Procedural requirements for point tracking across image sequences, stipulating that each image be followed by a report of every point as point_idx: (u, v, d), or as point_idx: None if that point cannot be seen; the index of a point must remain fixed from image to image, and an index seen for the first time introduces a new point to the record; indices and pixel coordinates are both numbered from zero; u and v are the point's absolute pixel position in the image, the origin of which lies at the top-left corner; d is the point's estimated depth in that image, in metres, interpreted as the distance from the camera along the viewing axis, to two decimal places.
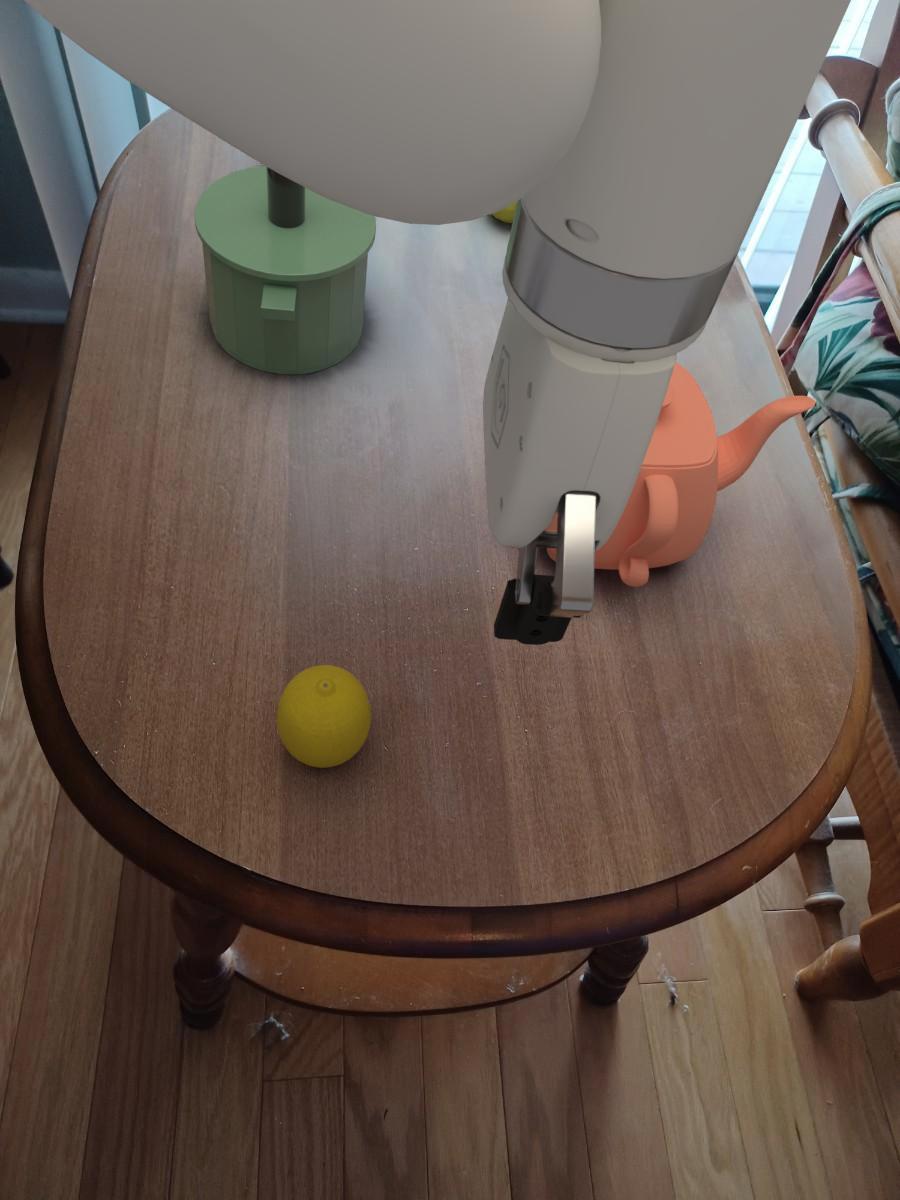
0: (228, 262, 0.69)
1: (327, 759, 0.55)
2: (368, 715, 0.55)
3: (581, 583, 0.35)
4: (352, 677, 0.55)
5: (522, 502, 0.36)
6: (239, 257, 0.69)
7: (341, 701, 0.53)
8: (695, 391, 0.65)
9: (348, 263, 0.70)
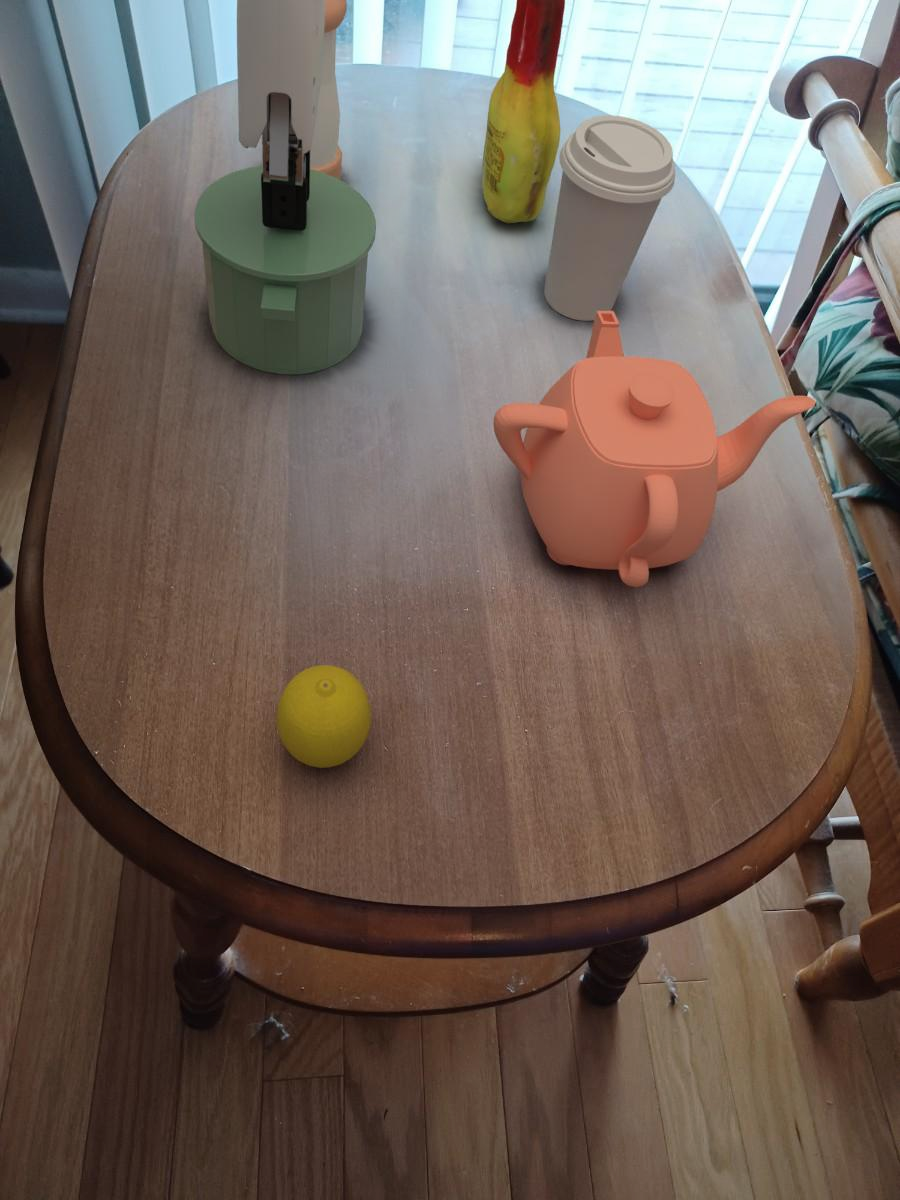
0: (228, 262, 0.69)
1: (327, 759, 0.55)
2: (368, 715, 0.55)
3: (280, 164, 0.62)
4: (352, 677, 0.55)
5: (245, 103, 0.60)
6: (239, 257, 0.69)
7: (341, 701, 0.53)
8: (694, 391, 0.65)
9: (348, 263, 0.70)
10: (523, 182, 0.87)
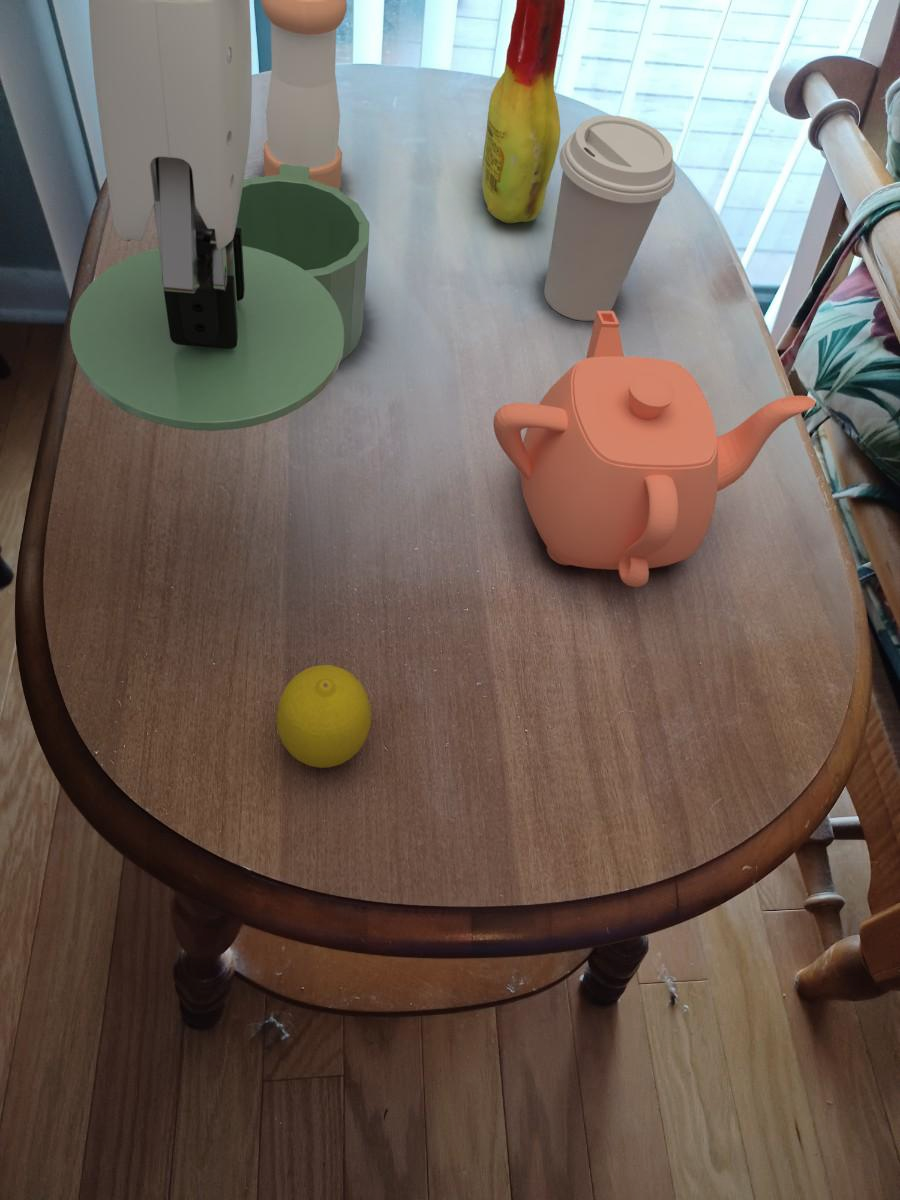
0: (116, 402, 0.45)
1: (327, 759, 0.55)
2: (368, 715, 0.55)
3: (180, 269, 0.38)
4: (352, 677, 0.55)
5: (116, 175, 0.36)
6: (133, 394, 0.45)
7: (341, 701, 0.53)
8: (695, 391, 0.65)
9: (301, 399, 0.47)
10: (523, 182, 0.87)
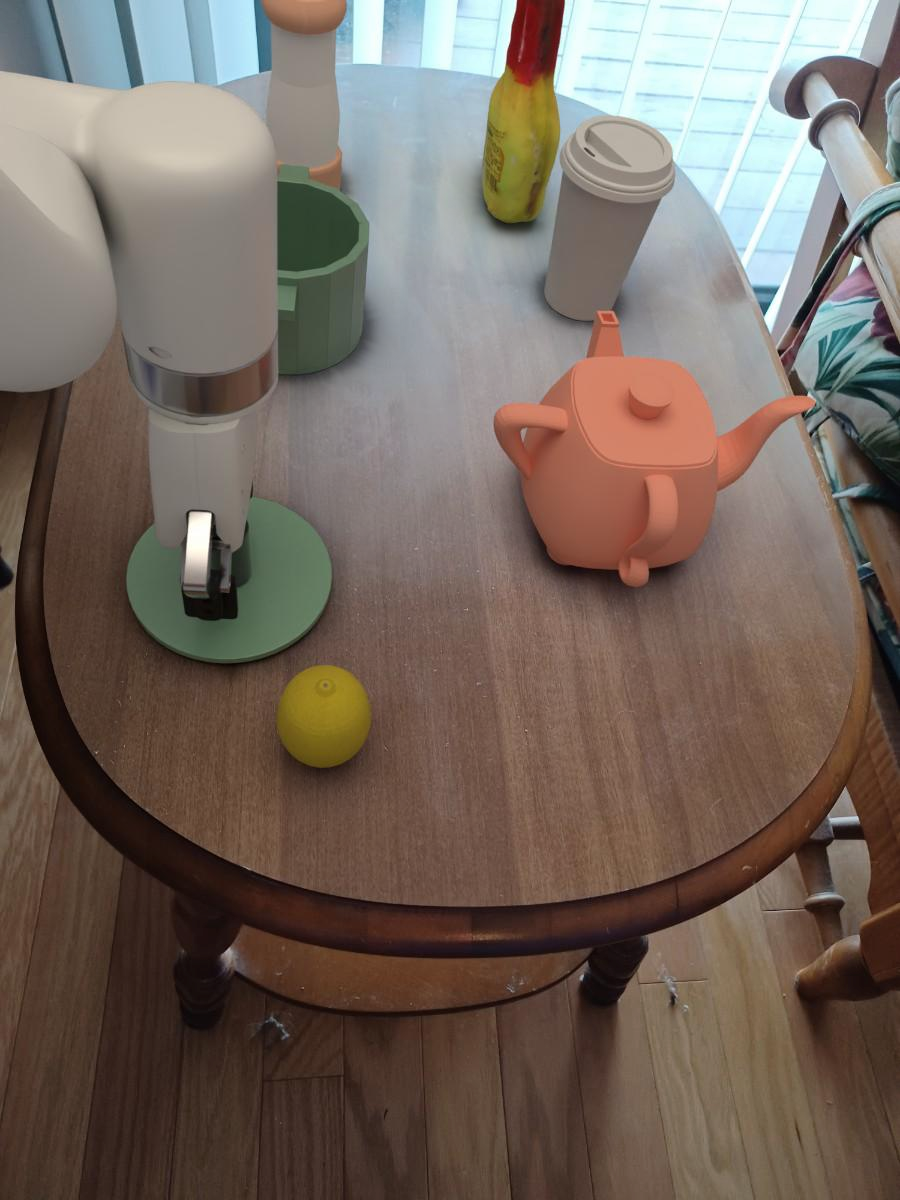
0: (162, 642, 0.61)
1: (327, 759, 0.55)
2: (368, 715, 0.55)
3: (197, 574, 0.51)
4: (352, 677, 0.55)
5: (161, 517, 0.51)
6: (174, 637, 0.61)
7: (341, 701, 0.53)
8: (695, 391, 0.65)
9: (299, 635, 0.62)
10: (523, 182, 0.87)
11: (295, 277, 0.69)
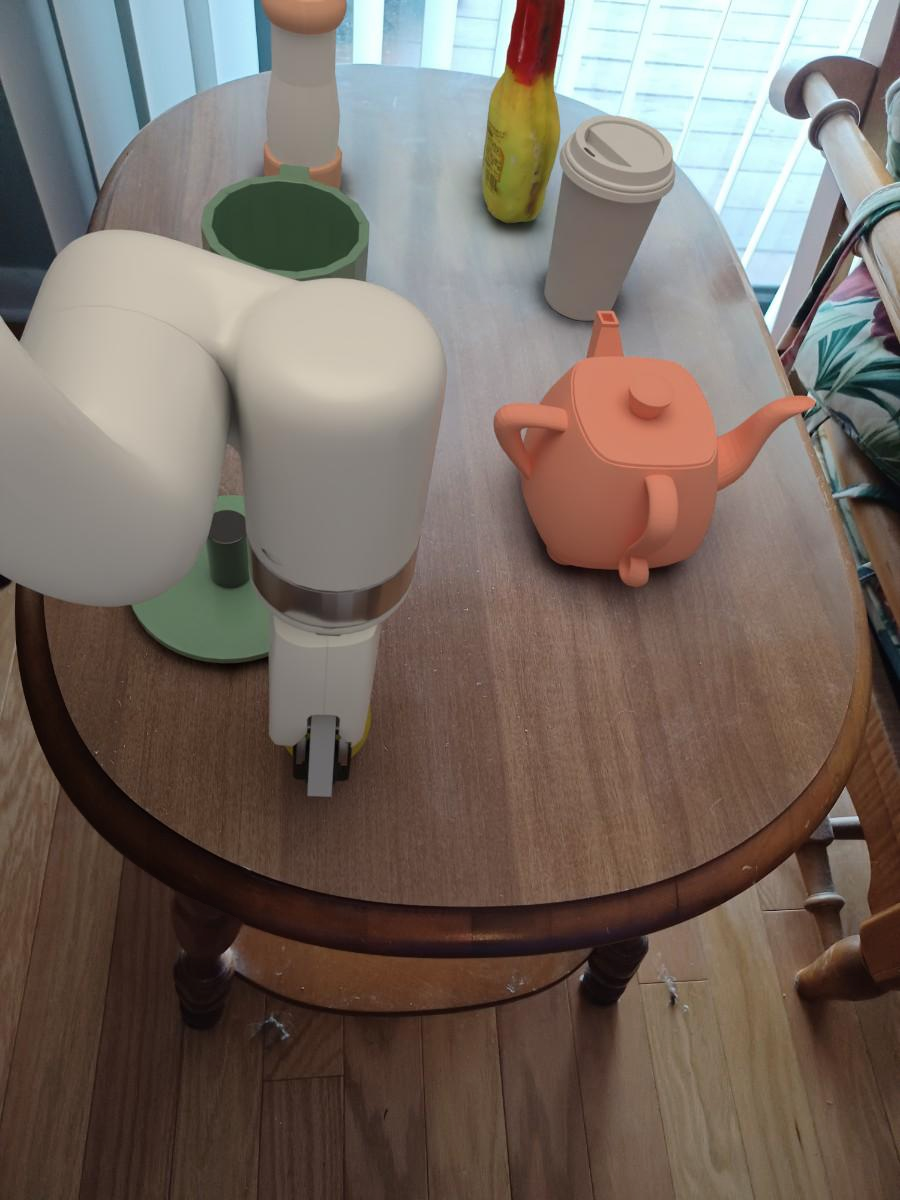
0: (162, 642, 0.61)
1: None
2: (368, 715, 0.55)
3: (322, 783, 0.47)
4: None
5: (279, 721, 0.46)
6: (174, 637, 0.61)
7: None
8: (695, 391, 0.65)
9: None
10: (523, 182, 0.87)
11: (295, 277, 0.69)
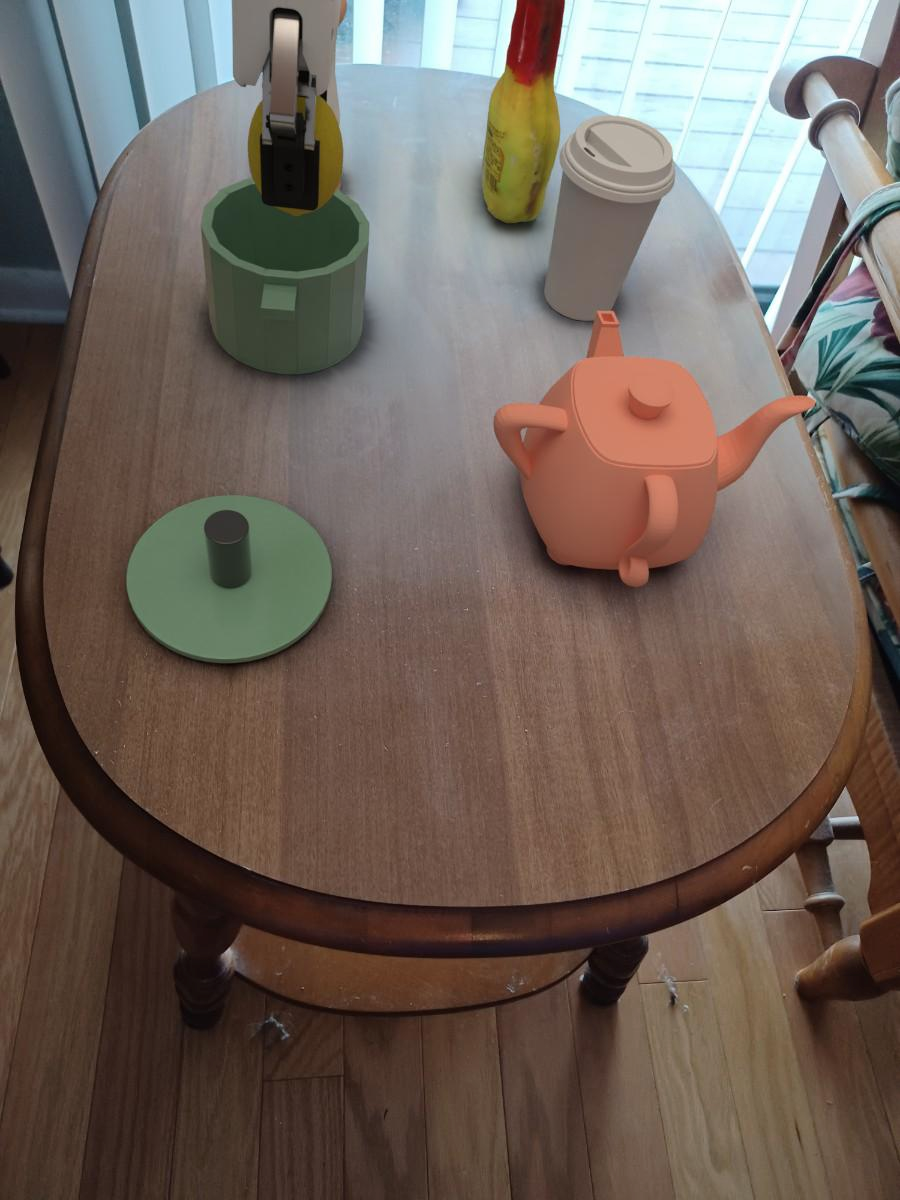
0: (162, 642, 0.61)
1: None
2: (340, 142, 0.55)
3: (285, 101, 0.46)
4: (324, 100, 0.54)
5: (241, 24, 0.45)
6: (174, 637, 0.61)
7: None
8: (694, 391, 0.65)
9: (299, 635, 0.62)
10: (523, 182, 0.87)
11: (295, 277, 0.69)
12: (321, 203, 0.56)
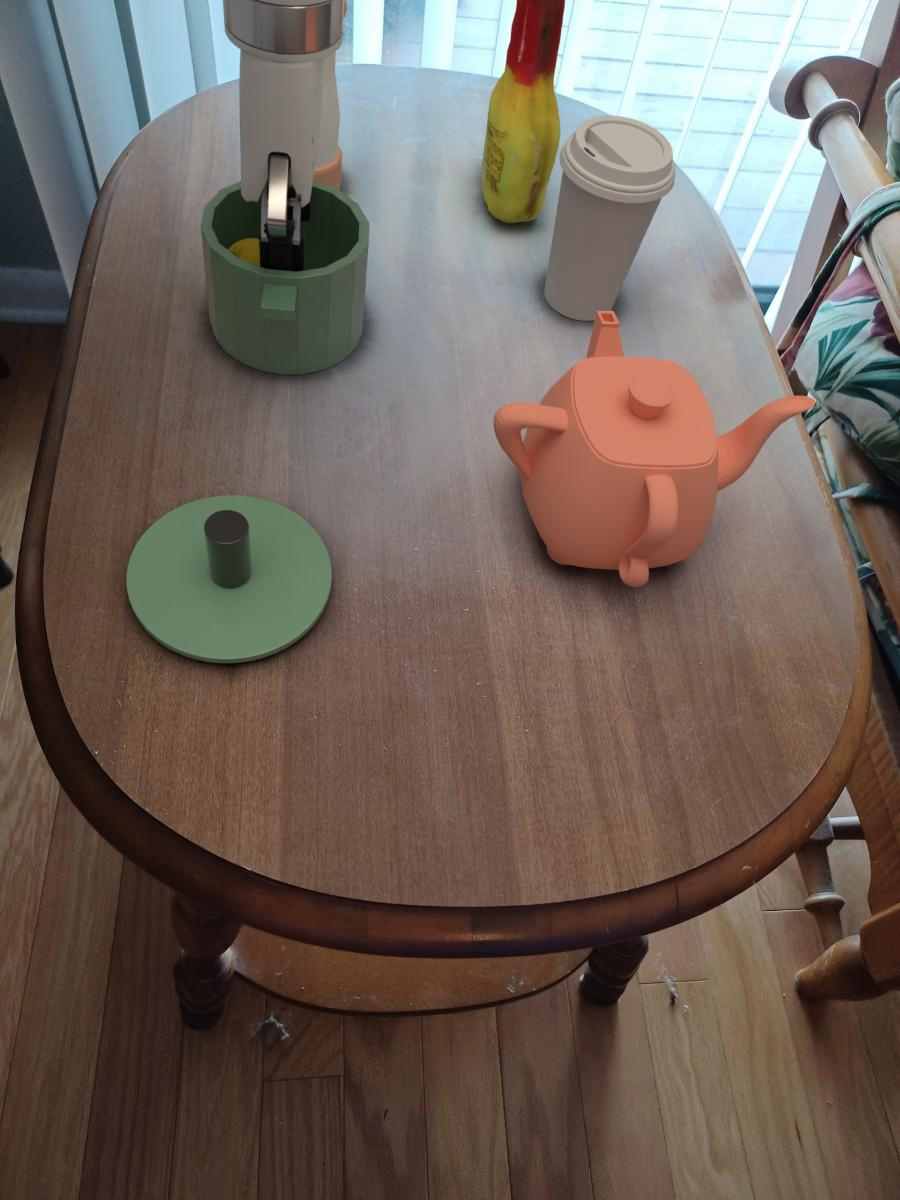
0: (162, 642, 0.61)
1: None
2: None
3: (278, 211, 0.63)
4: None
5: (247, 162, 0.63)
6: (174, 637, 0.61)
7: (249, 256, 0.72)
8: (695, 391, 0.65)
9: (299, 635, 0.62)
10: (523, 182, 0.87)
11: (295, 277, 0.69)
12: None
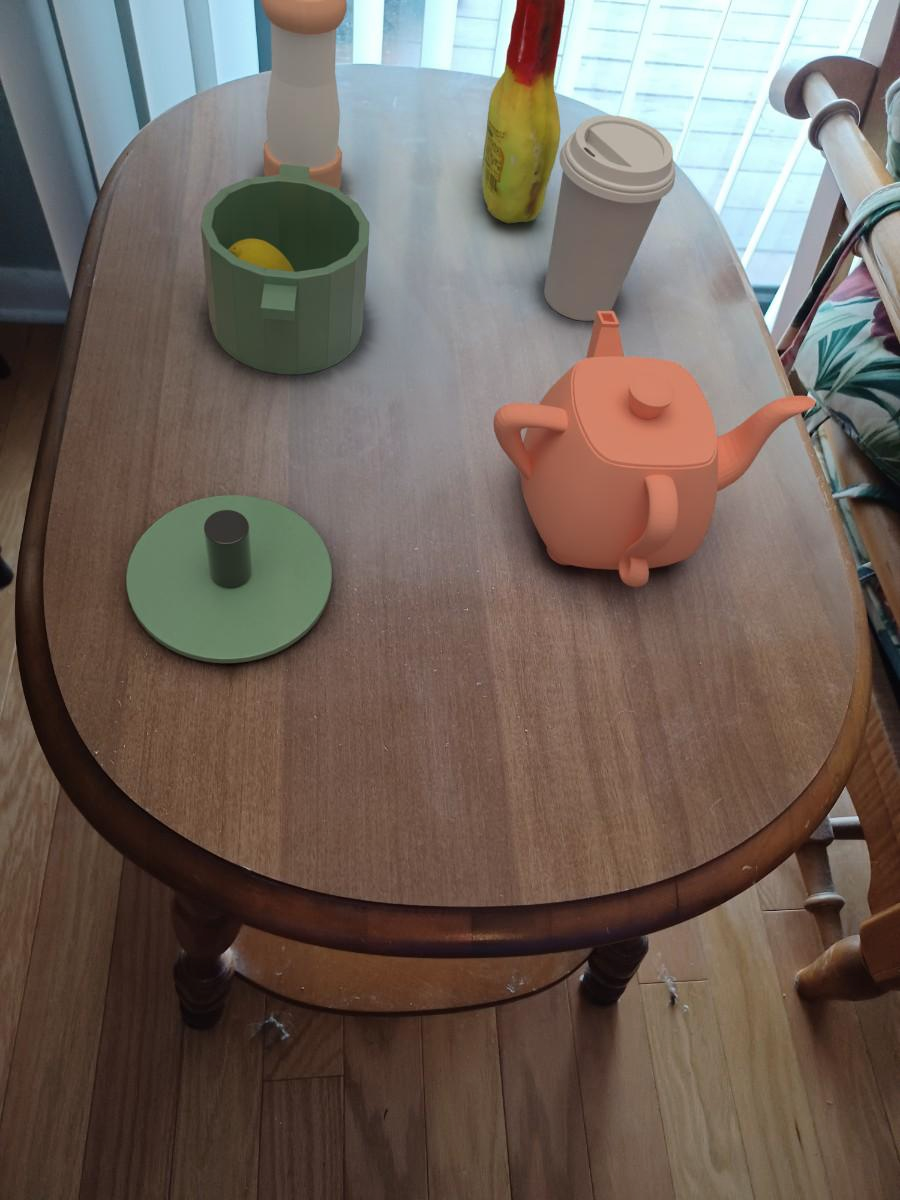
0: (162, 642, 0.61)
1: None
2: (281, 267, 0.74)
3: None
4: (261, 241, 0.74)
5: None
6: (174, 637, 0.61)
7: (249, 257, 0.72)
8: (695, 391, 0.65)
9: (299, 635, 0.62)
10: (523, 182, 0.87)
11: (295, 277, 0.69)
12: None
